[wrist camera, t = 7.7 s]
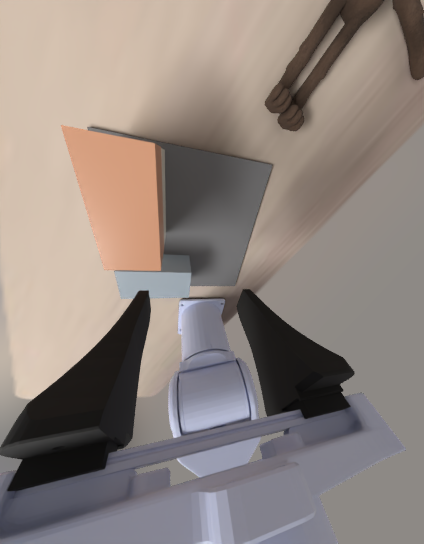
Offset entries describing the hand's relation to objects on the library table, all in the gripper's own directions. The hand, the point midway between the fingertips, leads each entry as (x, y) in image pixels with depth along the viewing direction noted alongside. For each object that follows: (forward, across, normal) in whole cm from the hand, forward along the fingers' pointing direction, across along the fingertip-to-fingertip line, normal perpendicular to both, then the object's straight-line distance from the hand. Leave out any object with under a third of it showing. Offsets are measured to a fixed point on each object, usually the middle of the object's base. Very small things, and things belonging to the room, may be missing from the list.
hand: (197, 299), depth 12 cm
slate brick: (+10, +4, +4) cm, 12 cm away
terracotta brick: (+6, +5, -5) cm, 9 cm away
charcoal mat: (+10, 0, -1) cm, 10 cm away
